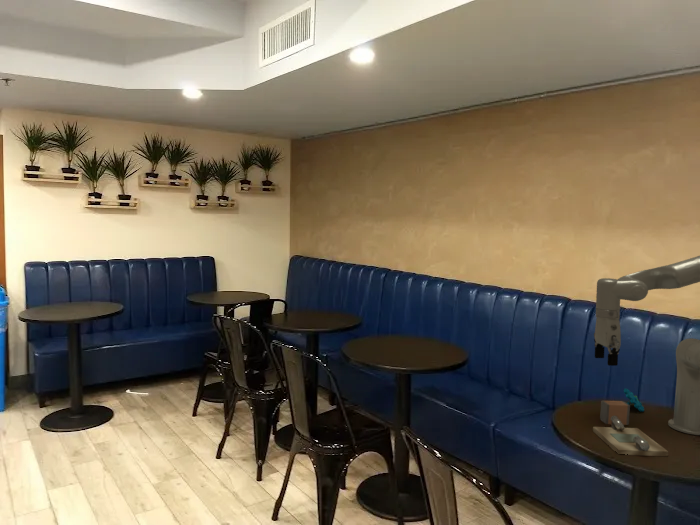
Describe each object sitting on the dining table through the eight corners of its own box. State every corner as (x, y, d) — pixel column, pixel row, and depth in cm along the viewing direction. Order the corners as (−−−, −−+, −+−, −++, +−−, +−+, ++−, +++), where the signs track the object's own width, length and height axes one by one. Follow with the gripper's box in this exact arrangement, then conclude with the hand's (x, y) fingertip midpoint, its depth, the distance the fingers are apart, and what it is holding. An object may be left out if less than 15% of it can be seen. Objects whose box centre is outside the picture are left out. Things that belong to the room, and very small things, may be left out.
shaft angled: (616, 425, 179) (617, 415, 179) (624, 431, 174) (625, 421, 173) (609, 425, 179) (610, 414, 179) (617, 431, 174) (618, 420, 173)
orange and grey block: (622, 420, 189) (623, 401, 188) (628, 424, 184) (629, 405, 184) (600, 419, 189) (601, 400, 189) (605, 424, 185) (607, 404, 184)
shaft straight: (640, 443, 164) (641, 436, 164) (649, 450, 159) (649, 443, 159) (632, 443, 164) (633, 436, 164) (641, 450, 159) (641, 442, 159)
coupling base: (637, 432, 178) (637, 423, 177) (667, 456, 160) (668, 445, 159) (592, 431, 178) (593, 421, 178) (618, 454, 160) (619, 444, 160)
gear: (643, 411, 193) (624, 388, 198) (629, 420, 196) (611, 397, 200) (648, 407, 202) (629, 385, 206) (635, 416, 204) (617, 393, 209)
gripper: (631, 318, 174) (629, 368, 175) (606, 309, 191) (604, 355, 193) (608, 318, 174) (606, 368, 176) (586, 309, 191) (584, 355, 193)
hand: (605, 361), depth 184 cm, fingers open, 9 cm apart
